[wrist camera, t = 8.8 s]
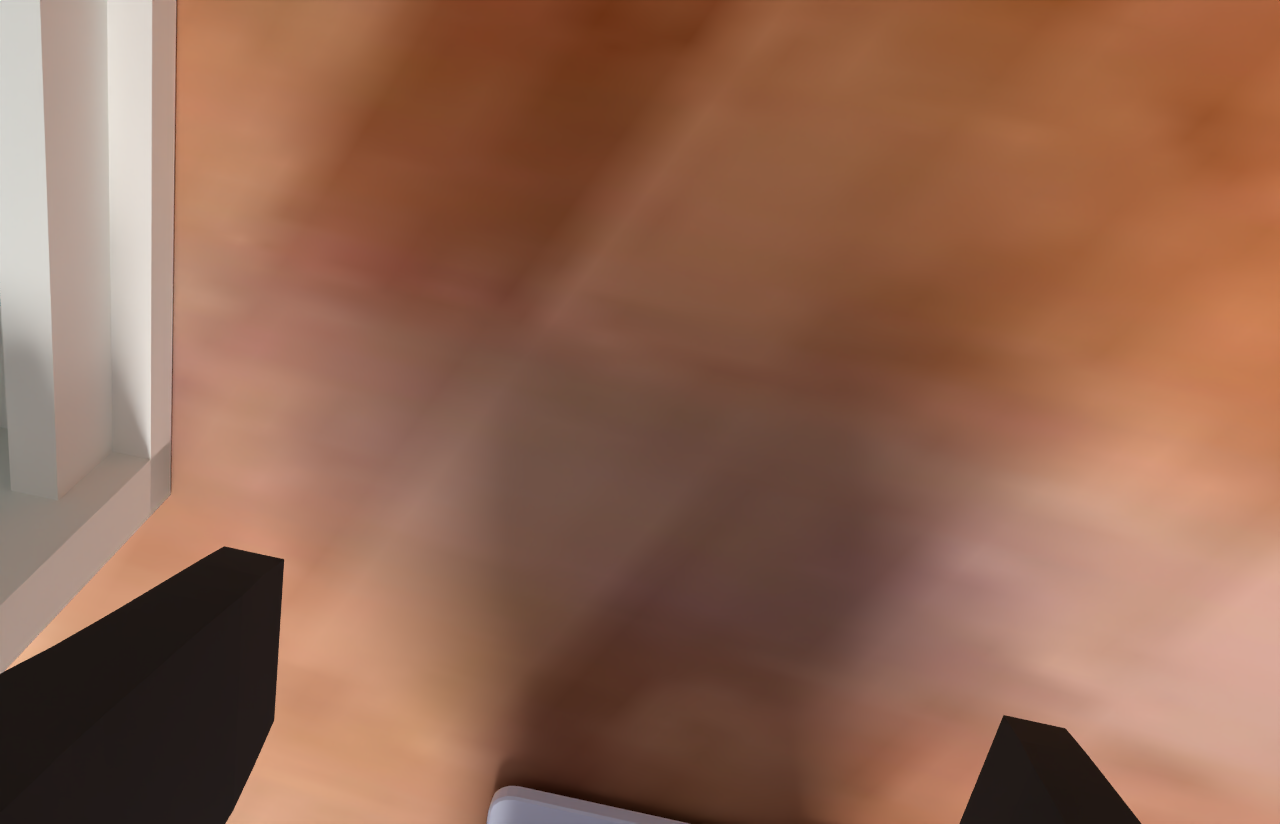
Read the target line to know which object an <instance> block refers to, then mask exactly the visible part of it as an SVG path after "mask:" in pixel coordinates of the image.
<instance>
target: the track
mask: <svg viewBox="0 0 1280 824" xmlns="http://www.w3.org/2000/svg"><path fill="white" fill-rule="evenodd" d="M175 78H176V0H0V303H1V306H0V674H1V673H3V672H4V671H5V670H6V669H7V668H8V667H9V666H10V665H11V663H12V662H13V661H14V660H15V659H16V658H17V657H18V656H19V655H20V654H21V653H22V652H23V651H24V650H25V649H26V648H27V647H28V645H29V644H30V643H31V642H32V641H33V640H34V639H35V638H36V637H37V636H38V635H39V634H40V633H41V632H42V631H43V630H44V628H45V627H46V626H47V625H48V624H49V623H50V622H51V621H52V620H53V619H54V618H55V617H56V616H57V615H58V614H59V613H60V612H61V610H62V609H63V608H64V607H65V606H66V605H67V604H68V603H69V602H70V601H71V600H72V599H73V598H74V597H75V596H76V595H77V593H78V592H79V591H80V590H81V589H82V588H83V587H84V586H85V585H86V584H87V583H88V582H89V581H90V580H91V579H92V578H93V577H94V575H95V574H96V573H97V572H98V571H99V570H100V569H101V568H102V567H103V566H104V565H105V564H106V563H107V562H108V561H109V560H110V558H111V557H112V556H113V555H114V554H115V553H116V552H117V551H118V550H119V549H120V548H121V547H122V546H123V545H124V544H125V543H126V542H127V540H128V539H129V538H130V537H131V536H132V535H133V534H134V533H135V532H136V531H137V530H138V529H139V528H140V527H141V526H142V525H143V523H144V522H145V521H146V520H147V519H148V518H149V517H150V516H151V515H152V514H153V513H154V512H155V511H156V510H157V509H158V508H159V507H160V505H161V504H162V503H163V502H164V501H165V500H166V499H167V498H168V497H169V496H170V490H171V408H172V325H173V243H174V161H175Z"/></svg>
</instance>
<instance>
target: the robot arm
mask: <svg viewBox="0 0 1280 824" xmlns="http://www.w3.org/2000/svg"><path fill="white" fill-rule="evenodd" d="M283 569H284V559H280V558H275V557H271V556H266V555H261V554H257V553H252V552H248V551H243V550H238V549H234V548H229V547H222V548H221V549H219V550H217V551H215V552H213V553H212V554H210V555H208V556H206V557H205V558H203V559H201V560H200V561H198V562H196V563H195V564H193V565H191V566H190V567H188V568H186V569H184V570H183V571H181V572H179V573H178V574H176V575H174V576H173V577H171V578H169V579H168V580H166V581H164V582H163V583H161V584H159V585H158V586H156V587H154V588H153V589H151V590H149V591H148V592H146V593H144V594H143V595H141V596H139V597H137V598H136V599H134V600H132V601H131V602H129V603H127V604H126V605H124V606H122V607H121V608H119V609H117V610H116V611H114V612H112V613H110V614H109V615H107V616H105V617H104V618H102V619H100V620H98V621H97V622H95V623H93V624H91V625H90V626H88V627H86V628H84V629H83V630H81V631H79V632H77V633H76V634H74V635H72V636H70V637H69V638H67V639H65V640H63V641H62V642H60V643H58V644H56V645H55V646H53V647H51V648H49V649H47V650H45V651H43V652H41V653H39V654H37V655H35V656H34V657H32V658H30V659H28V660H26V661H24V662H22V663H20V664H18V665H16V666H14V667H12V668H10V669H8V670H6V671H4V672H3V673H1V674H0V824H225V823H226V821H227V820H228V818H229V816H230V815H231V813H232V811H233V810H234V807H235V805H236V803H237V801H238V799H239V797H240V795H241V793H242V790H243V788H244V786H245V784H246V782H247V780H248V778H249V776H250V773H251V771H252V769H253V767H254V765H255V762H256V760H257V758H258V756H259V753H260V751H261V749H262V747H263V744H264V742H265V740H266V737H267V735H268V733H269V731H270V728H271V726H272V724H273V722H274V713H275V697H276V681H277V665H278V649H279V633H280V617H281V601H282V585H283ZM486 824H689V823H685V822H680V821H676V820H671V819H667V818H662V817H657V816H653V815H648V814H644V813H639V812H635V811H630V810H625V809H621V808H616V807H612V806H607V805H603V804H598V803H593V802H589V801H584V800H580V799H575V798H571V797H566V796H561V795H557V794H552V793H548V792H543V791H539V790H534V789H529V788H525V787H520V786H506V787H502V788H500V789H499V790H498V791H496V792H495V794H494V796H493V798H492V801H491V804H490V807H489V811H488V817H487V823H486ZM960 824H1141V823H1140V821H1139V820H1138V819H1137V818H1136V816H1135V815H1134V814H1133V812H1132V811H1131V810H1130V809H1129V807H1128V806H1127V805H1126V803H1125V802H1124V801H1123V800H1122V798H1121V797H1120V796H1119V795H1118V793H1117V792H1116V791H1115V789H1114V788H1113V787H1112V786H1111V784H1110V783H1109V782H1108V780H1107V779H1106V778H1105V777H1104V775H1103V774H1102V773H1101V771H1100V770H1099V769H1098V768H1097V766H1096V765H1095V764H1094V763H1093V761H1092V760H1091V759H1090V757H1089V756H1088V755H1087V754H1086V752H1085V751H1084V750H1083V749H1082V748H1081V746H1080V745H1079V744H1078V743H1077V742H1076V740H1075V739H1074V738H1073V737H1072V736H1071V734H1070V733H1069V732H1068V731H1067V730H1066V729H1065V728H1061V727H1056V726H1051V725H1047V724H1042V723H1037V722H1033V721H1028V720H1024V719H1019V718H1014V717H1010V716H1005V715H1004V716H1003V718H1002V721H1001V723H1000V725H999V728H998V730H997V733H996V735H995V738H994V740H993V743H992V745H991V748H990V750H989V753H988V755H987V757H986V760H985V762H984V765H983V767H982V770H981V772H980V775H979V777H978V780H977V782H976V784H975V787H974V789H973V792H972V794H971V797H970V799H969V802H968V804H967V807H966V809H965V812H964V814H963V816H962V819H961V821H960Z"/></svg>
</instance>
